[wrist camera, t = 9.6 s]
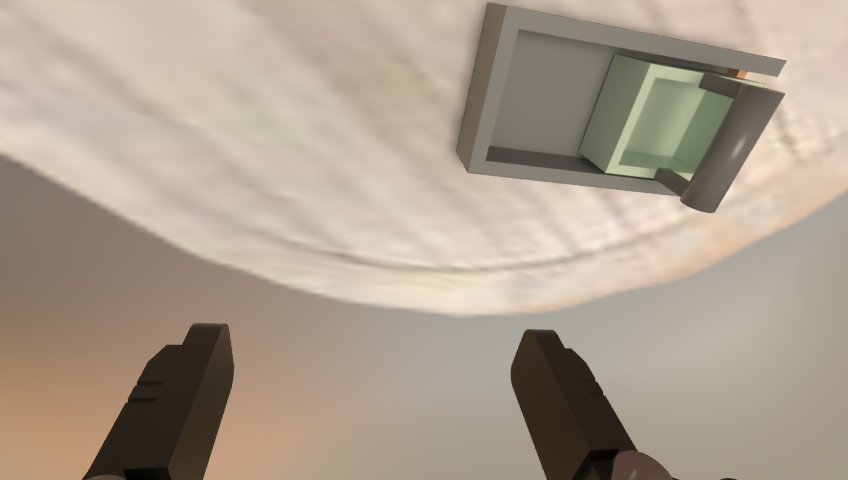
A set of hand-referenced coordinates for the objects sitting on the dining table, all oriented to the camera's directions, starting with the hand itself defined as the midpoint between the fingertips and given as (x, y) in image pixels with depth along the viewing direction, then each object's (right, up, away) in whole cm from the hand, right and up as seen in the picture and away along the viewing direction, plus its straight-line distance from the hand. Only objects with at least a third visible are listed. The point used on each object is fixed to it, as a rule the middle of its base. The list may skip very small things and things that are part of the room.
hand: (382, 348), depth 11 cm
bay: (+16, +15, +25) cm, 34 cm away
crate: (+21, +14, +25) cm, 36 cm away
